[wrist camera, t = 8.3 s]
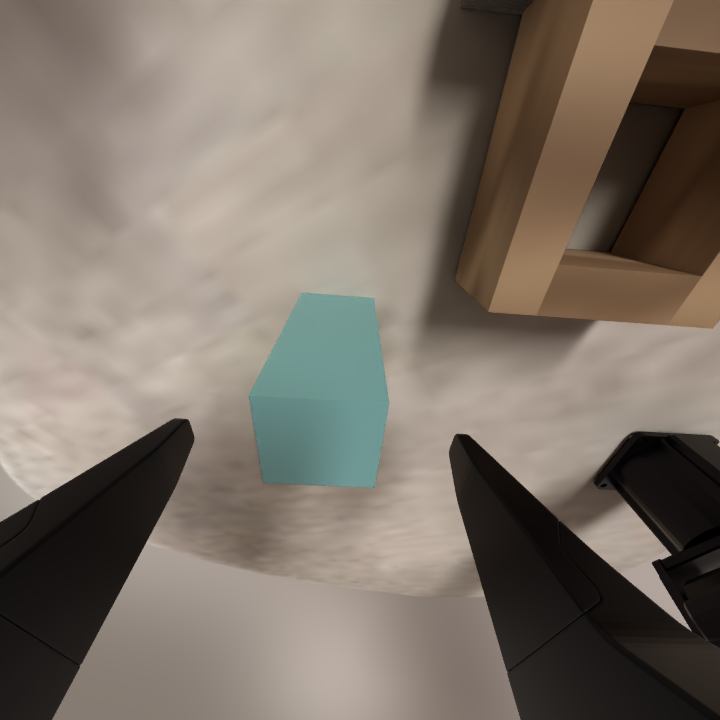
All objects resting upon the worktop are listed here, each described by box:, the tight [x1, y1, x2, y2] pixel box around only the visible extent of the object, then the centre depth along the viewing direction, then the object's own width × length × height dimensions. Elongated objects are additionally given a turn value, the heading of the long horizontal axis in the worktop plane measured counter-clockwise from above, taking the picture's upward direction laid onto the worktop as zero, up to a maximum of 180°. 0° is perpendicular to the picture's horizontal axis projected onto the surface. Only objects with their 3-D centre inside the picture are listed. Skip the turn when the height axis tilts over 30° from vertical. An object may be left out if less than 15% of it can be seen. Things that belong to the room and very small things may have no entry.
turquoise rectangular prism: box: [249, 293, 389, 488], centre depth 13 cm, size 4×4×9 cm
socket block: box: [455, 0, 720, 328], centre depth 11 cm, size 10×10×4 cm
